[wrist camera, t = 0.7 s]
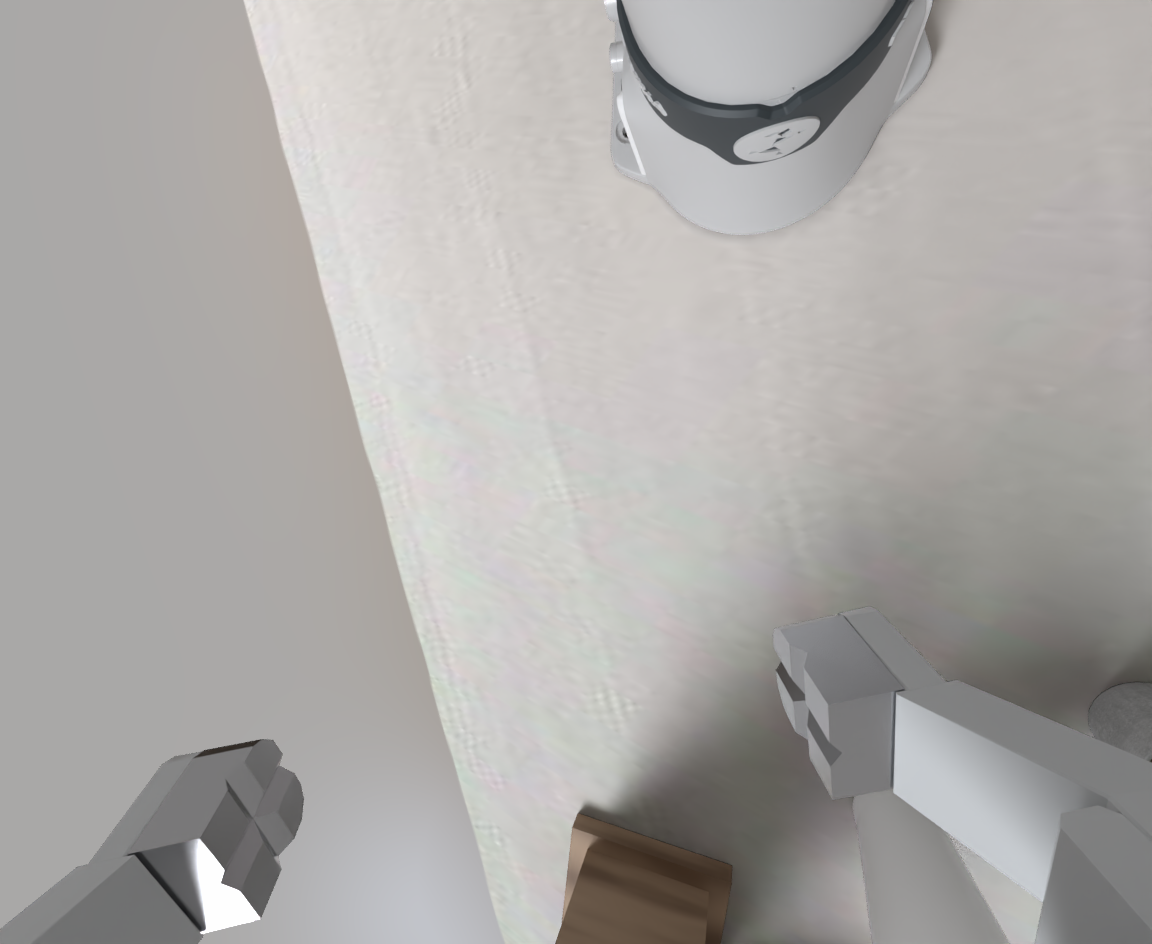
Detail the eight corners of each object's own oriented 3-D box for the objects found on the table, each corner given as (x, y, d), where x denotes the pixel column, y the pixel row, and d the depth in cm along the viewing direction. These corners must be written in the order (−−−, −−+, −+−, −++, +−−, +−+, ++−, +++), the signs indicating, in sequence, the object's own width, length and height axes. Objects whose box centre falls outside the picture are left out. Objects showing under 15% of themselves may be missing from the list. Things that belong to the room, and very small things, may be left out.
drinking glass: (831, 764, 39) (878, 978, 25) (937, 762, 37) (1053, 996, 23) (849, 848, 40) (905, 1102, 26) (954, 851, 38) (1078, 1131, 24)
